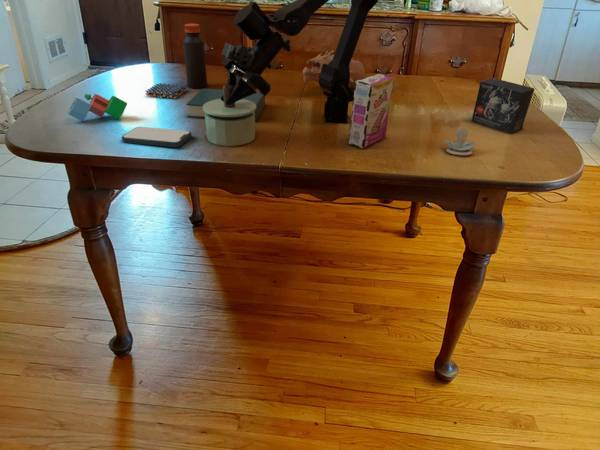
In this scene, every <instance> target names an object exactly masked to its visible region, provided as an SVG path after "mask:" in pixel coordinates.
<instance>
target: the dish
mask: <svg viewBox="0 0 600 450" xmlns="http://www.w3.org/2000/svg"><path fill="white" fill-rule="evenodd" d="M204 121H205V122H204V123H205V133H206V134H205V135H206V140H207V141H208V142H210V143H212V144H214V145H217V146H223V147H236V146H243V145H246V144H249V143H251V142H253V141H254V140H255V139H256V122H255V112H253V113H251V114H248V115H244V116H238V117H218V116H213V115H209V114H207V113H205V118H204Z"/></svg>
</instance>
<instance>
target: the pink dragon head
mask: <svg viewBox="0 0 600 450" xmlns="http://www.w3.org/2000/svg"><path fill="white" fill-rule="evenodd" d="M324 51H325V49H322V51H321V52H320V53H319V54H318V55H317V56H315V57H313V58H310V59H308V60H307V61H306V64H307V65H310V66H312V67H309V68H308V66H304V68H303V70H302V74H303V79H302V80H303V83H304V85H306V84H307V83H308V82H311V81H314V82H317V83H318V84H319V77H318V76H319V75H320V73H321V69H322V65H323V64H324V63H325V64H327V65H328V64H329V63H330V62H331V61H332V59H333V57H334V54H335V51H334V49H332V50H331V51H329V52H328V51H326V52H325V53H324V55H322V54H323V52H324ZM333 53H334V54H333ZM349 69H350V80H349V85H348V86H349V87H350V88H355V81H357V80H361V79H364V78H365V76H366V71H365V67H364V64H363V63H362V62H361V61H359V60H354V58H352V59H351V62H350V65H349Z"/></svg>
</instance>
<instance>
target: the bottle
mask: <svg viewBox="0 0 600 450" xmlns="http://www.w3.org/2000/svg"><path fill="white" fill-rule="evenodd" d="M183 25H184V32H185V34H186V36H185V38H184V39H183V41H182V44H183V55H184V63H185V65H184V66H185V73H186V83H187V87H188V88H189V89H195V90H196V89H197V90H198V89H205V88H206V87H208V77H207V64H206V63H207V62H206V51H205V40H203V38H202V37H201V35H200V34H201V24H199V23H185V24H183Z"/></svg>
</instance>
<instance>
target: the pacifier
mask: <svg viewBox="0 0 600 450" xmlns="http://www.w3.org/2000/svg"><path fill="white" fill-rule="evenodd" d="M468 135H469V130H468V128H467V127H465V126H460V127H458V128H457V129H456V131H455V141H454V142H452V141H450V140H447V139H444V143H445V145H446V146H448V147H449V148H447V149H446V152H447V153H448V154H451V155H455V156H462V157H463V156H464V157H465V156H466V157H467V156H472V154H473V151H472V149H473V148H474V146H475V142H474V141H467V142H465V140H466V139H467V137H468Z"/></svg>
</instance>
